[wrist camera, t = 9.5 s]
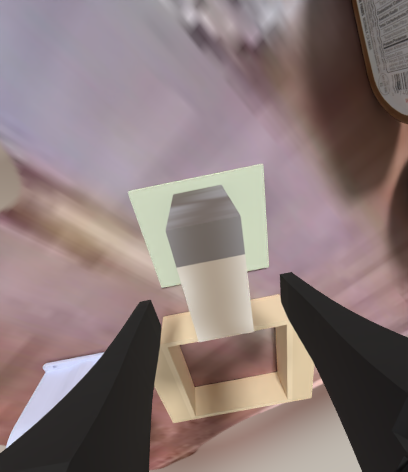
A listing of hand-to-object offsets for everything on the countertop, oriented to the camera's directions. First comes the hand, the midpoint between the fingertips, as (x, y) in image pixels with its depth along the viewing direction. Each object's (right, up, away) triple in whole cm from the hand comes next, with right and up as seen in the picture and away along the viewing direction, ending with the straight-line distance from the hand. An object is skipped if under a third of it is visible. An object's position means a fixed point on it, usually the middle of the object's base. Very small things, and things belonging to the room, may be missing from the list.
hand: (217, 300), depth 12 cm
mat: (-1, +4, +8) cm, 9 cm away
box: (0, +3, +8) cm, 8 cm away
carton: (+3, -11, +16) cm, 19 cm away
